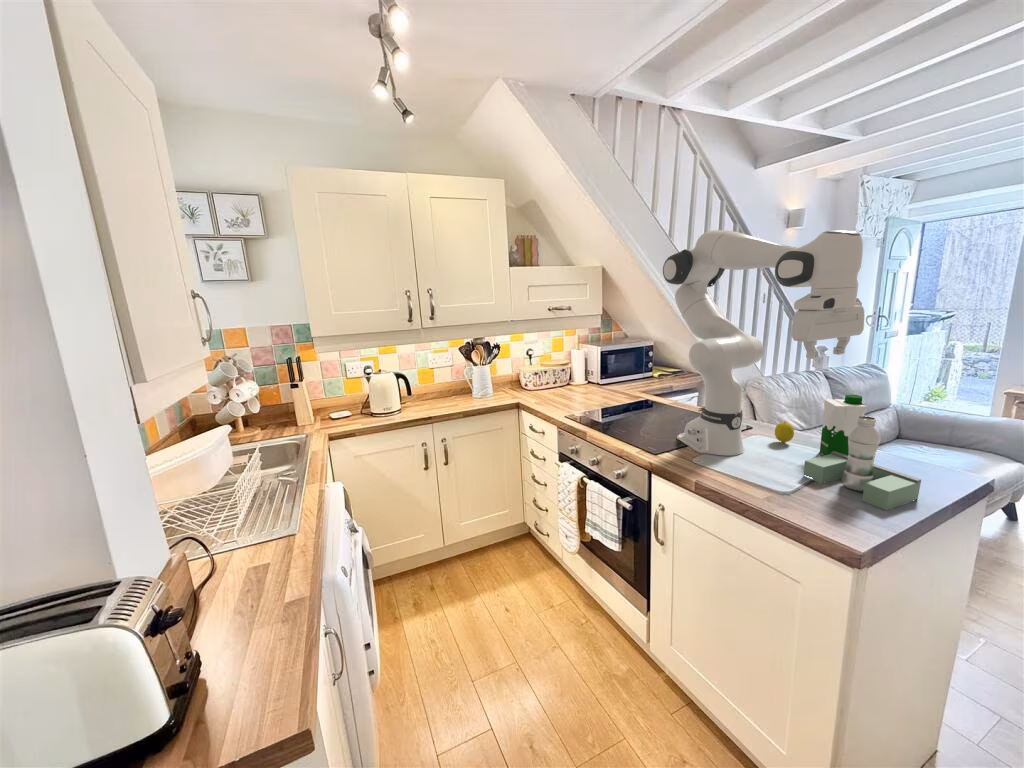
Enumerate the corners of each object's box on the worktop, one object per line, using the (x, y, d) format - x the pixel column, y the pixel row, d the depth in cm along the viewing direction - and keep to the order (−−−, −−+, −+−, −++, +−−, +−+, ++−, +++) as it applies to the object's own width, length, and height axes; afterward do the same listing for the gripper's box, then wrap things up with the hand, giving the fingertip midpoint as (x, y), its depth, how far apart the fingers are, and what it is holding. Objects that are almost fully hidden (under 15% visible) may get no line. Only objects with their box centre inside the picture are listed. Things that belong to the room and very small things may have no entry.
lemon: (795, 446, 134) (798, 424, 132) (777, 445, 135) (780, 424, 134) (788, 440, 140) (790, 418, 138) (770, 439, 141) (772, 418, 139)
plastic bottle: (838, 489, 106) (848, 419, 101) (842, 480, 110) (852, 412, 106) (870, 497, 101) (882, 423, 97) (873, 487, 106) (885, 416, 101)
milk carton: (862, 463, 119) (871, 400, 115) (827, 461, 122) (835, 399, 117) (847, 451, 128) (855, 392, 123) (814, 450, 130) (821, 392, 126)
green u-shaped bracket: (803, 476, 114) (805, 458, 112) (832, 468, 117) (834, 451, 116) (885, 510, 95) (889, 489, 94) (917, 499, 99) (921, 479, 97)
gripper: (847, 297, 101) (840, 350, 104) (788, 302, 95) (783, 358, 98) (876, 297, 95) (868, 353, 98) (815, 303, 89) (808, 362, 92)
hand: (825, 356), depth 98 cm, fingers open, 8 cm apart
